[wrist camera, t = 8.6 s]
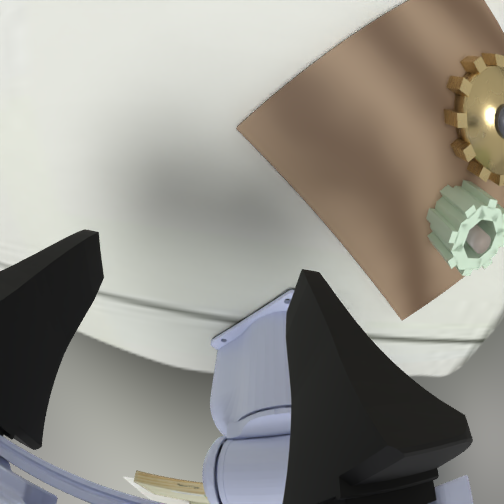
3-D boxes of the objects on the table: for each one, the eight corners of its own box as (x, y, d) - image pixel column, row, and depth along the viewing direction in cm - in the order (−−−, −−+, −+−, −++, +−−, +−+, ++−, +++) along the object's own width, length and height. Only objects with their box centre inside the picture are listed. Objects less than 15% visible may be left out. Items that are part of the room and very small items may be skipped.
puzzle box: (135, 468, 64) (155, 484, 77) (132, 481, 60) (153, 494, 73) (257, 485, 63) (254, 496, 76) (256, 498, 59) (254, 507, 72)
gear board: (398, 312, 23) (415, 352, 19) (237, 125, 16) (228, 140, 12) (547, 188, 15) (578, 210, 12) (457, -25, 8) (495, -37, 4)
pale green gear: (441, 263, 19) (459, 289, 16) (413, 211, 17) (435, 236, 14) (491, 221, 17) (513, 243, 14) (470, 164, 15) (498, 182, 12)
